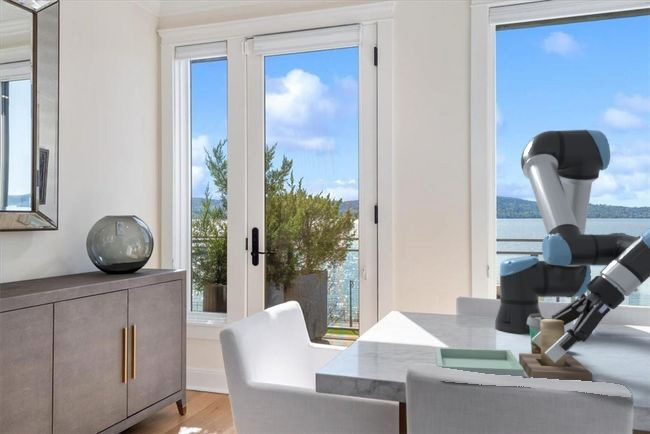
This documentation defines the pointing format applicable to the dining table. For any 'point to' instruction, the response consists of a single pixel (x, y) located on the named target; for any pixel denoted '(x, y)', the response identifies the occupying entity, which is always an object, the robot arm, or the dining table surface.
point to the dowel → (551, 340)
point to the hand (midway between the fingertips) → (542, 350)
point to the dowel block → (554, 368)
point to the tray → (479, 361)
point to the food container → (534, 330)
